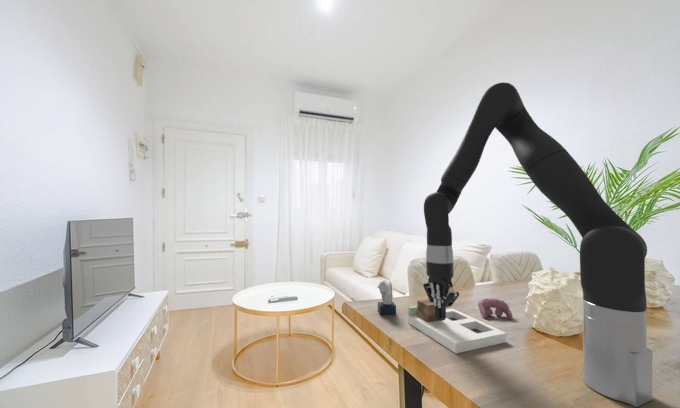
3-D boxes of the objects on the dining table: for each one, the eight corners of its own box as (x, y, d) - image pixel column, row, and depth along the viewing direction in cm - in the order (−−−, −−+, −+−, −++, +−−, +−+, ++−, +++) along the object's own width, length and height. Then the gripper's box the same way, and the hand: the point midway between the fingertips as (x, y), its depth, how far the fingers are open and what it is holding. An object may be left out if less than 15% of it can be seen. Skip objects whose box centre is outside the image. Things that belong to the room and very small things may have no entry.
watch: (391, 308, 101) (391, 278, 101) (397, 317, 93) (397, 284, 93) (376, 308, 100) (376, 278, 101) (380, 317, 92) (381, 284, 93)
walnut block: (441, 320, 84) (441, 303, 84) (427, 322, 82) (427, 305, 83) (430, 314, 89) (430, 298, 89) (417, 316, 87) (417, 300, 87)
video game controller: (508, 321, 95) (503, 299, 98) (514, 319, 91) (509, 297, 94) (478, 319, 96) (475, 298, 99) (483, 318, 92) (479, 296, 95)
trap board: (506, 342, 76) (506, 323, 76) (455, 353, 69) (455, 333, 70) (452, 315, 95) (452, 301, 95) (408, 322, 88) (408, 307, 88)
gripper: (467, 262, 77) (468, 326, 76) (434, 256, 89) (435, 310, 88) (445, 264, 74) (447, 330, 73) (415, 257, 86) (415, 314, 86)
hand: (440, 319), depth 81 cm, fingers closed
